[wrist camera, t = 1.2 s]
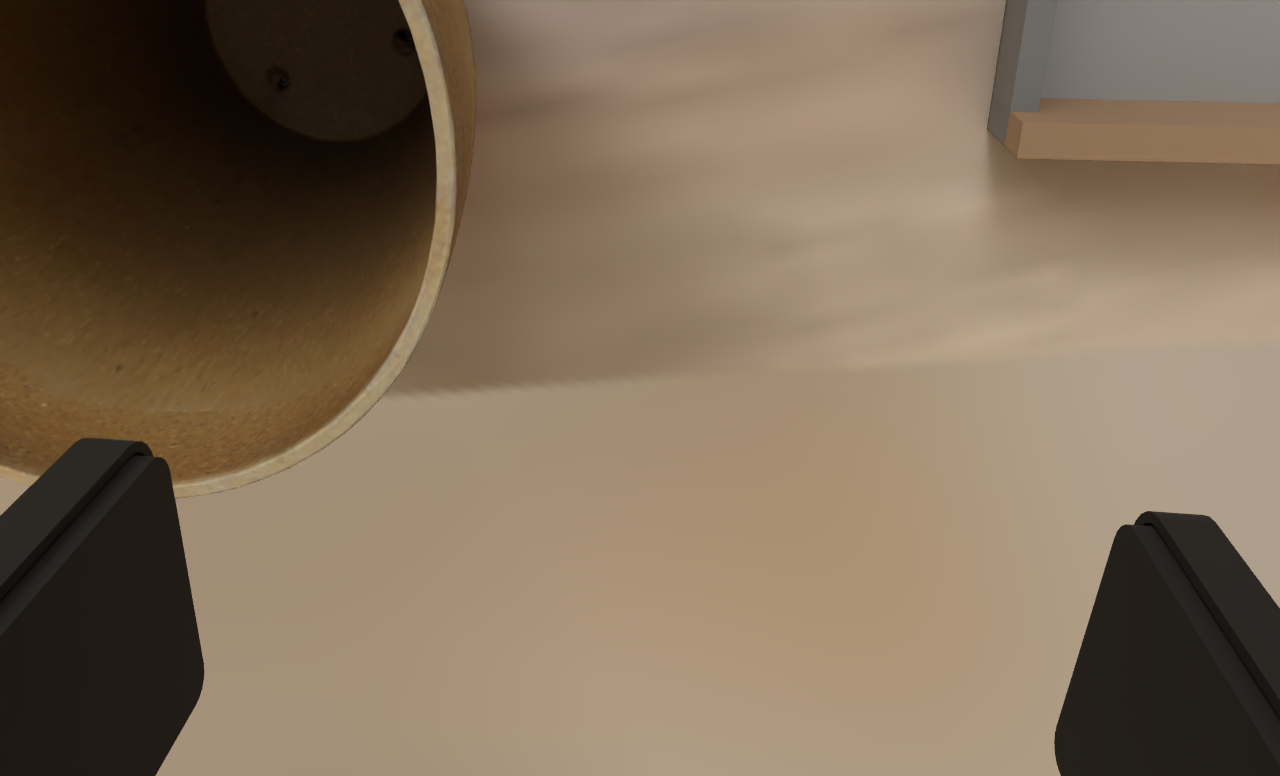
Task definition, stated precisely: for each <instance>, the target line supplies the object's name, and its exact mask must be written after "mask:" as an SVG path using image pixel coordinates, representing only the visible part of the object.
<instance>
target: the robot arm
mask: <svg viewBox="0 0 1280 776" xmlns="http://www.w3.org/2000/svg"><path fill="white" fill-rule="evenodd" d="M203 680H204V663H203V657H202V651H201V645H200V640H199V634H198V628H197V622H196V617H195V611H194V605H193V599H192V594H191V588H190V582H189V577H188V571H187V565H186V559H185V553H184V548H183V542H182V536H181V530H180V525H179V519H178V513H177V507H176V503H175V496H174V490H173V484H172V479H171V473H170V469H169V466H168V464H167V462H166V460H165V459H163V458H161V457H153V453H152V451H151V449H150V448H149V446H148V445H147V444H146V443H144V442H142V441H131V440H117V439H103V438H81V439H80V440H78V441H77V442H75V443H74V444H73V445H72V446H71V447H70V448H69V449H68V450H67V451H66V452H65V453H64V454H63V455H62V456H61V457H60V458H59V459H58V460H57V461H56V462H55V463H54V464H53V465H52V466H51V467H49V468H48V469H47V470H46V471H45V472H44V473H43V474H42V475H41V476H40V477H39V478H38V479H37V480H36V481H35V482H34V483H33V484H32V485H31V486H30V487H29V488H28V489H27V490H26V491H25V492H24V493H23V494H22V495H21V496H20V497H19V498H18V499H17V500H16V501H15V502H14V503H13V504H12V505H11V506H10V507H9V508H8V509H7V510H6V511H5V512H4V513H3V514H2V515H1V516H0V776H155V775H156V774H157V772H158V770H159V768H160V767H161V765H162V763H163V761H164V759H165V758H166V756H167V754H168V753H169V751H170V749H171V747H172V746H173V744H174V742H175V740H176V739H177V737H178V735H179V733H180V732H181V730H182V728H183V727H184V725H185V723H186V721H187V720H188V718H189V716H190V714H191V713H192V711H193V709H194V707H195V706H196V704H197V701H198V699H199V697H200V693H201V690H202V686H203ZM1054 743H1055V756H1056V762H1057V765H1058V769H1059V771H1060V774H1061V776H1280V608H1279V607H1278V606H1277V604H1276V603H1275V602H1274V601H1273V599H1272V598H1271V596H1270V595H1269V594H1268V592H1267V591H1266V590H1265V588H1264V587H1263V586H1262V584H1261V583H1260V581H1259V580H1258V579H1257V578H1256V576H1255V575H1254V574H1253V572H1252V571H1251V570H1250V568H1249V567H1248V565H1247V564H1246V563H1245V561H1244V560H1243V559H1242V557H1241V556H1240V555H1239V553H1238V552H1237V551H1236V549H1235V548H1234V546H1233V545H1232V544H1231V543H1230V541H1229V540H1228V538H1227V537H1226V536H1225V534H1224V533H1223V532H1222V530H1221V529H1220V528H1219V526H1218V525H1217V524H1216V522H1215V521H1214V520H1212V519H1211V518H1210V517H1208V516H1204V515H1194V514H1179V513H1166V512H1152V511H1147V512H1144V513H1142V514H1141V515H1140V516H1139V517H1138V519H1137V520H1136V522H1135V524H1134V525H1123V526H1121V527H1120V528H1119V530H1118V531H1117V533H1116V536H1115V538H1114V541H1113V544H1112V548H1111V551H1110V554H1109V557H1108V561H1107V564H1106V567H1105V570H1104V574H1103V577H1102V580H1101V583H1100V587H1099V590H1098V593H1097V596H1096V600H1095V603H1094V606H1093V610H1092V613H1091V616H1090V619H1089V623H1088V626H1087V629H1086V633H1085V635H1084V639H1083V642H1082V646H1081V649H1080V652H1079V655H1078V658H1077V662H1076V665H1075V668H1074V671H1073V675H1072V678H1071V681H1070V684H1069V688H1068V691H1067V694H1066V697H1065V701H1064V704H1063V707H1062V710H1061V714H1060V717H1059V720H1058V724H1057V727H1056V732H1055V742H1054Z"/></svg>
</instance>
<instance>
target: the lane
mask: <svg viewBox="0 0 1280 776" xmlns="http://www.w3.org/2000/svg"><path fill="white" fill-rule="evenodd" d="M987 129H988V130H989V131H990V132H991V133H992V134H993V135H994V136H995V137H996V138H997V139H998V140H999V141H1000V142H1001V143H1002V144H1003V145H1004V146H1005V147H1006V148H1007V149H1008V150H1009V151H1010V152H1011V153H1012V154H1013V155H1014V156H1015V157H1016V158H1018V159H1061V160H1105V161H1148V162H1192V163H1235V164H1278V165H1280V0H1007V2H1006V8H1005V15H1004V21H1003V28H1002V35H1001V41H1000V48H999V54H998V61H997V67H996V74H995V81H994V87H993V94H992V100H991V107H990V114H989V120H988V127H987Z"/></svg>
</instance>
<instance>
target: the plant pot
mask: <svg viewBox="0 0 1280 776" xmlns="http://www.w3.org/2000/svg"><path fill="white" fill-rule="evenodd" d="M401 31H406V32H408V33H410V34H411V35H412V36H413V41H412V42H404V41H403V40H402V39H401V38H400V36H399V32H401ZM285 77H287V78H288V79H289V83H288V85H287V86H286V87H285V88H283V89H280V88H279V86H278V82H279V81H280V79H281V78H285ZM475 118H476V80H475V66H474V55H473V46H472V39H471V33H470V28H469V23H468V18H467V14H466V9H465V6H464V2H463V0H0V477H2V478H5V479H9V480H12V481H15V482H19V483H22V484H26V485H29V486H31V485H32V484H33V483H34V482H35V481H36V480H37V479H38V478H39V477H40V476H41V475H42V474H43V473H44V472H45V471H46V470H47V469H48V468H49V467H51V466H52V465H53V464H54V463H55V462H56V461H57V460H58V459H59V458H60V457H61V456H62V455H63V454H64V453H65V452H66V451H67V450H68V449H69V448H70V447H71V446H72V445H73V444H74V443H75V442H77V441H78V440H80V439H81V438H103V439H117V440H131V441H142V442H144V443H146V444H147V445H148V446H149V448H150V449H151V451H152V453H153V457H161V458H163V459H165V460H166V462H167V464H168V466H169V469H170V473H171V479H172V484H173V490H174V496H175V499H176V498H185V497H192V496H200V495H206V494H212V493H218V492H223V491H227V490H230V489H234V488H238V487H241V486H244V485H247V484H251V483H254V482H257V481H259V480H262V479H264V478H267V477H269V476H272V475H274V474H276V473H279V472H281V471H284V470H286V469H289V468H291V467H293V466H294V465H296V464H298V463H299V462H301V461H303V460H305V459H307V458H308V457H310V456H312V455H313V454H315V453H317V452H319V451H321V450H322V449H324V448H325V447H327V446H328V445H329V444H331V443H332V442H333V441H335V440H336V439H337V438H339V437H340V436H342V435H343V434H344V433H346V432H347V431H348V430H349V429H350V428H351V427H353V426H354V425H355V424H356V423H357V422H358V421H359V420H361V418H363V417H364V416H365V415H366V414H367V413H368V412H369V411H370V409H371V408H372V407H373V406H374V405H375V404H376V403H377V402H378V401H379V400H380V398H381V397H382V396H383V395H384V394H385V393H386V392H387V390H388V389H389V388H390V386H391V385H392V384H393V382H394V381H395V379H396V378H397V377H398V375H399V374H400V373H401V371H402V370H403V369H404V367H405V366H406V364H407V362H408V360H409V359H410V357H411V355H412V353H413V351H414V350H415V348H416V346H417V344H418V343H419V341H420V339H421V337H422V335H423V333H424V331H425V329H426V326H427V324H428V322H429V320H430V317H431V315H432V313H433V311H434V308H435V305H436V302H437V299H438V296H439V293H440V290H441V287H442V284H443V281H444V278H445V275H446V272H447V270H448V266H449V263H450V259H451V256H452V252H453V248H454V245H455V241H456V237H457V233H458V229H459V225H460V221H461V216H462V212H463V207H464V203H465V199H466V194H467V188H468V181H469V175H470V169H471V163H472V155H473V145H474V136H475Z"/></svg>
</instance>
